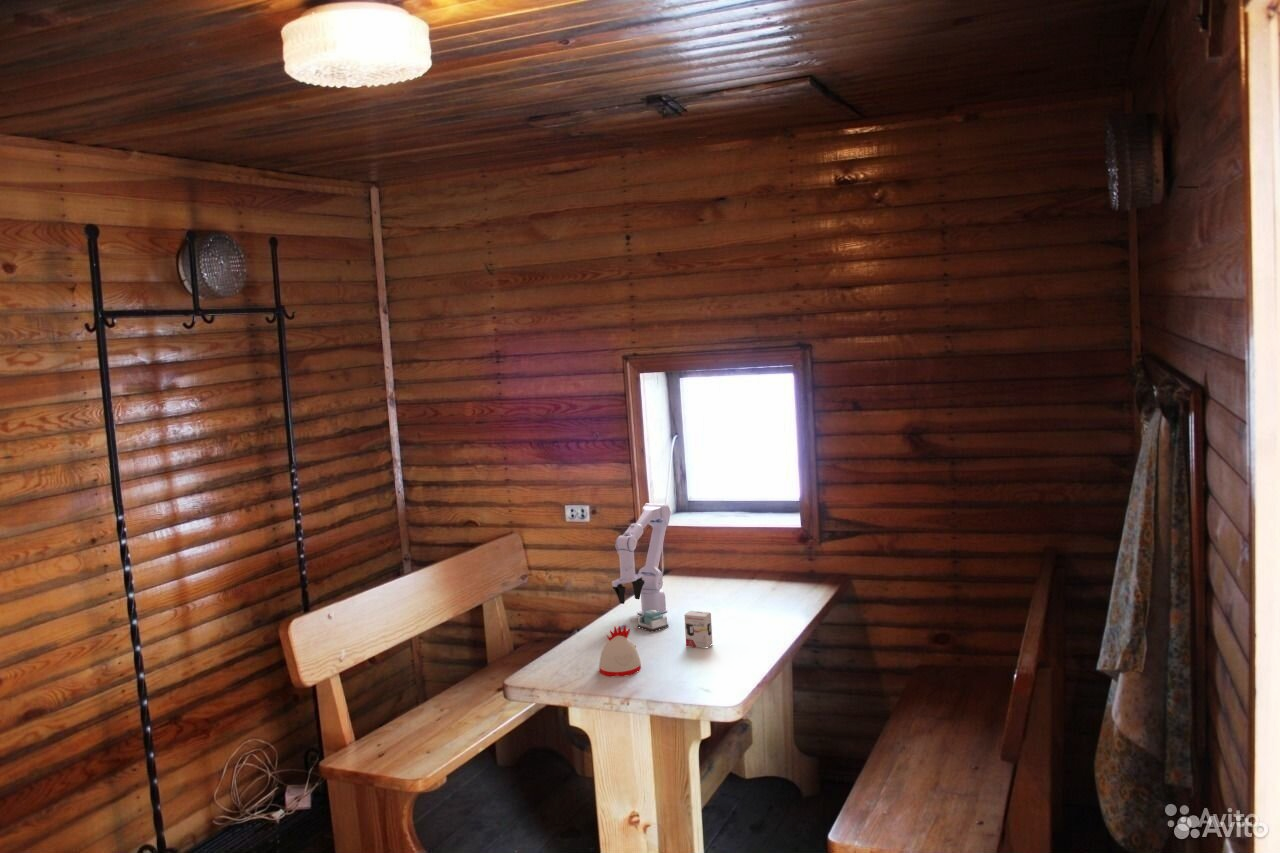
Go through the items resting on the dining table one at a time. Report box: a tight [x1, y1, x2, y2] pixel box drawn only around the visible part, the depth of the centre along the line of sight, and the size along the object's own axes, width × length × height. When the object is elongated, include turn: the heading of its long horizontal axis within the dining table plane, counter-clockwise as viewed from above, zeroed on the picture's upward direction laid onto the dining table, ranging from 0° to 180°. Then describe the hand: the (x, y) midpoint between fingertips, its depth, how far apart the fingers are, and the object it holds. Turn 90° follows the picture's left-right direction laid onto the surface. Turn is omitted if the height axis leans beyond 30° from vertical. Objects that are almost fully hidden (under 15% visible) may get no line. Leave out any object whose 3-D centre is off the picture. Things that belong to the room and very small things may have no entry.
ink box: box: [684, 610, 713, 648], centre depth 361 cm, size 9×5×12 cm, turn 62°
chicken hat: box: [598, 624, 642, 677], centre depth 341 cm, size 14×14×15 cm
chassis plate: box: [636, 615, 669, 632], centre depth 387 cm, size 8×9×4 cm
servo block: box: [640, 610, 664, 624], centre depth 387 cm, size 4×8×6 cm, turn 39°
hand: (629, 601), depth 393 cm, fingers open, 7 cm apart
